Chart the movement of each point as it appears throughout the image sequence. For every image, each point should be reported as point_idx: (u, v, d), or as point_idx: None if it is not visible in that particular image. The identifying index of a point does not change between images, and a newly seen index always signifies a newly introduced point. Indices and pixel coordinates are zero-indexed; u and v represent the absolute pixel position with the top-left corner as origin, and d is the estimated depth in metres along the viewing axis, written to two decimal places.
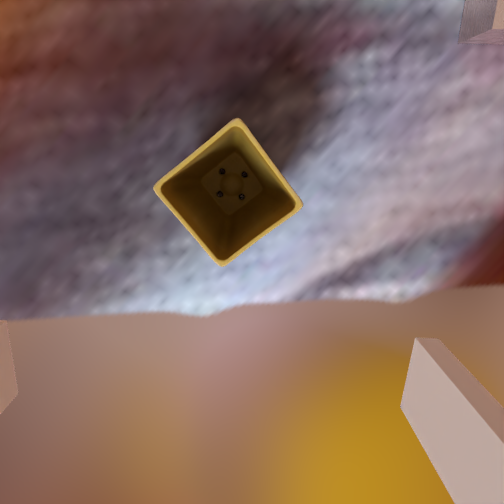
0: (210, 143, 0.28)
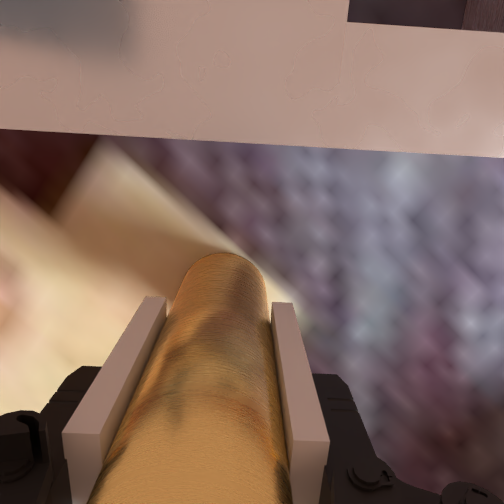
0: None
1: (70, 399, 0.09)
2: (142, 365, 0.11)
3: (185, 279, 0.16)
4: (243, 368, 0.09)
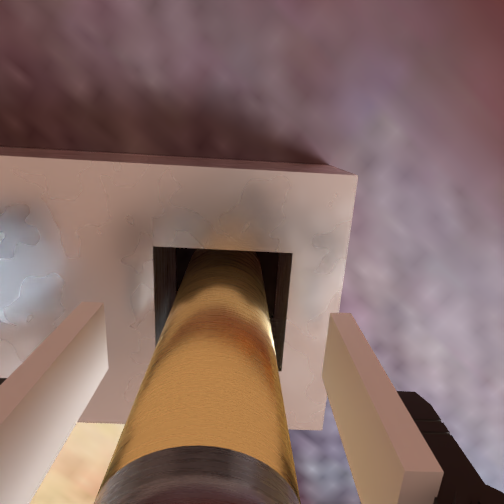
0: None
1: None
2: (58, 377, 0.10)
3: (193, 257, 0.18)
4: (245, 311, 0.12)
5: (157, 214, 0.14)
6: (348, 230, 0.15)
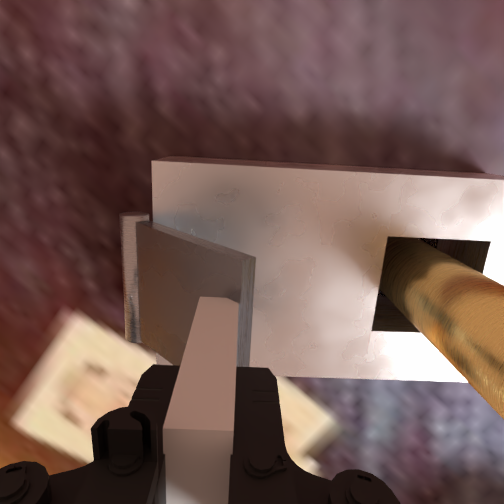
0: None
1: (151, 396, 0.09)
2: None
3: None
4: (492, 279, 0.17)
5: (396, 212, 0.19)
6: None
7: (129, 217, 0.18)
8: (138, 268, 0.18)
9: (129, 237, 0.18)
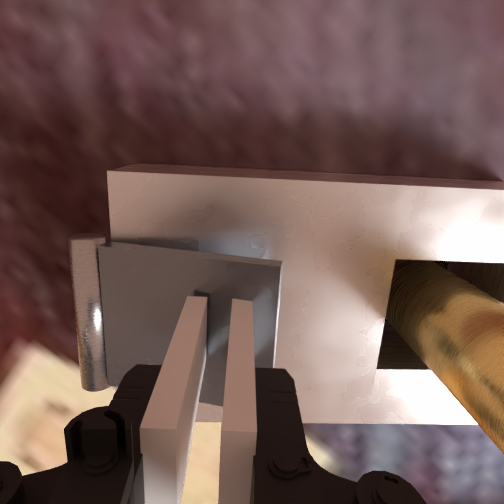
0: None
1: (133, 396, 0.09)
2: (195, 363, 0.11)
3: None
4: None
5: (405, 230, 0.16)
6: None
7: (88, 241, 0.14)
8: (104, 300, 0.15)
9: (89, 265, 0.14)
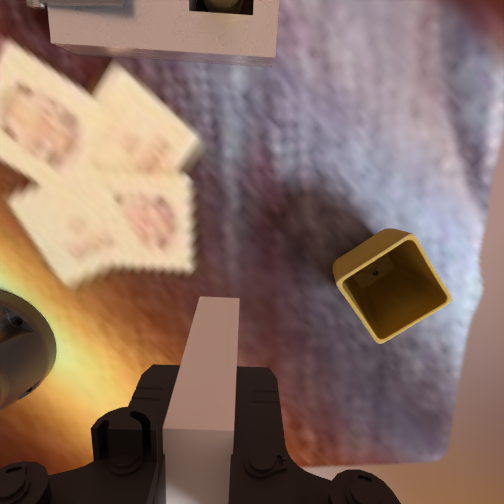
0: (352, 302, 0.37)
1: (151, 396, 0.09)
2: None
3: None
4: None
5: None
6: None
7: None
8: None
9: None
